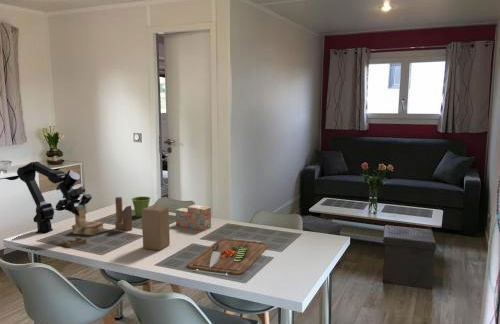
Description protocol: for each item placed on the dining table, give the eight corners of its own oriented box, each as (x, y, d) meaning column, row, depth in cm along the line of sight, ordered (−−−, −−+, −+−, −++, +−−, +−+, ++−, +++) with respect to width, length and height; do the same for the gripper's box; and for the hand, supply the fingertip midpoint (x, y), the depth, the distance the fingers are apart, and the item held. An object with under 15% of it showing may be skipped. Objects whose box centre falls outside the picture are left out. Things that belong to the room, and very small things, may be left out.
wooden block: (170, 244, 211) (169, 206, 208) (160, 251, 201) (158, 210, 199) (153, 242, 214) (151, 204, 211) (142, 249, 205) (140, 209, 202)
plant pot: (128, 217, 262) (128, 200, 260) (137, 213, 274) (136, 196, 272) (146, 218, 260) (146, 200, 258) (154, 213, 272) (153, 196, 270)
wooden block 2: (127, 231, 233) (125, 200, 231) (115, 228, 240) (113, 197, 237) (132, 229, 236) (131, 198, 234) (120, 226, 243) (119, 196, 240)
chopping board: (240, 279, 170) (240, 271, 169) (181, 270, 179) (181, 264, 178) (271, 244, 212) (271, 238, 211) (222, 239, 221) (222, 233, 220)
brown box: (71, 234, 229) (70, 226, 228) (82, 228, 239) (81, 221, 238) (93, 235, 226) (93, 227, 226) (104, 230, 236) (103, 222, 236)
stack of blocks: (175, 225, 245) (175, 204, 244) (182, 222, 251) (182, 202, 249) (204, 230, 234) (204, 209, 233) (211, 227, 240) (211, 206, 238)
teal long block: (75, 226, 220) (74, 206, 218) (81, 225, 223) (80, 205, 221) (80, 228, 218) (79, 207, 216) (85, 226, 221) (85, 206, 219)
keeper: (61, 244, 212) (61, 240, 212) (77, 240, 219) (77, 236, 219) (70, 247, 207) (70, 243, 207) (86, 243, 214) (86, 239, 214)
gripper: (57, 185, 211) (72, 209, 207) (89, 179, 227) (103, 202, 223) (49, 198, 216) (63, 222, 212) (80, 191, 232) (94, 214, 228)
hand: (81, 214), depth 219 cm, fingers closed on teal long block, 4 cm apart
